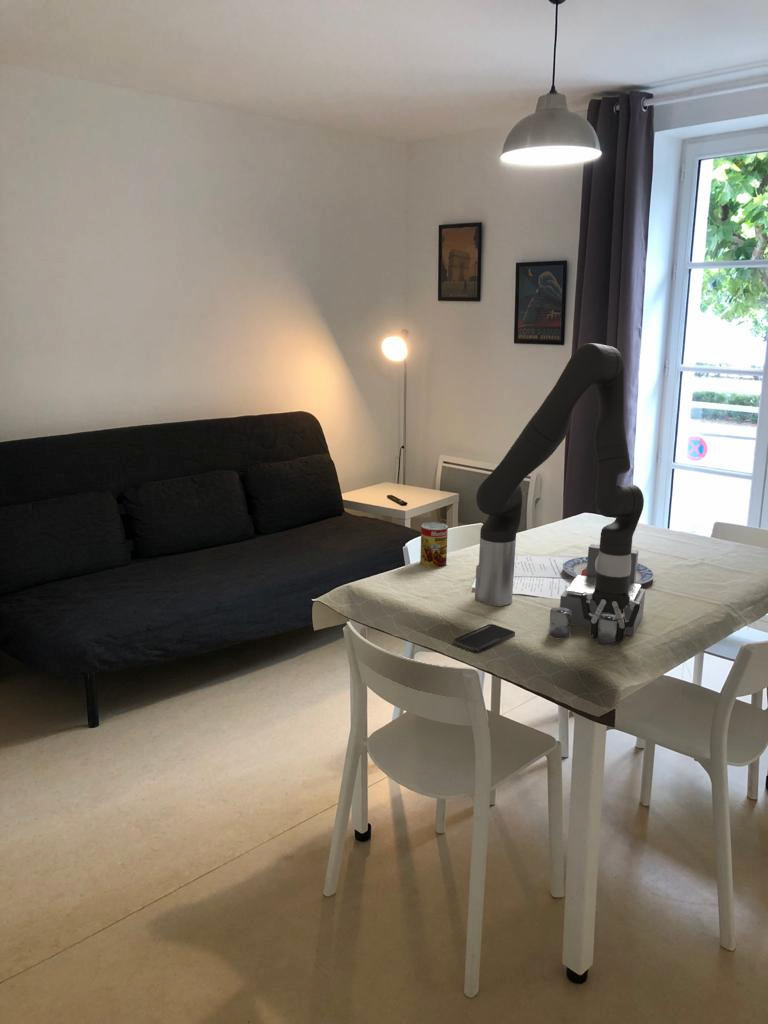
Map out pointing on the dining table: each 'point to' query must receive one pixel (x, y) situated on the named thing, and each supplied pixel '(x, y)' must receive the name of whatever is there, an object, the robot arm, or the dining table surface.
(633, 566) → the scale
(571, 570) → the ceramic plate
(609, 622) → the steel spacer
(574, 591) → the scale pan
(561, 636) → the cylinder
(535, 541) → the dining table surface
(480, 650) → the phone
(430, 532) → the canned food
